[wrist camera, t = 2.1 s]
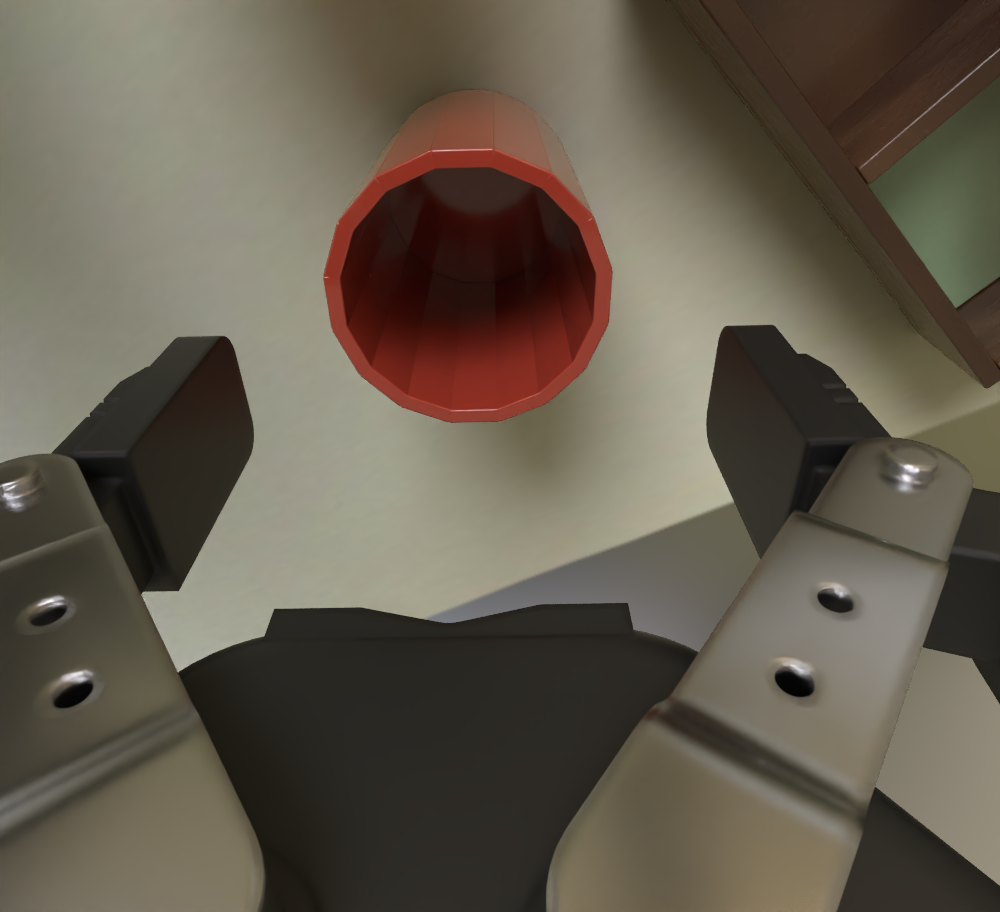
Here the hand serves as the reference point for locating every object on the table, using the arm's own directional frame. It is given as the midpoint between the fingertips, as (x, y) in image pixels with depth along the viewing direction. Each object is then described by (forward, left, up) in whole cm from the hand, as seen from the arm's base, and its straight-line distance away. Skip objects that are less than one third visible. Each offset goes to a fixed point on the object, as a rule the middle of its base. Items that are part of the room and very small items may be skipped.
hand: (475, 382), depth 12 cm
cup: (0, 0, -13) cm, 13 cm away
